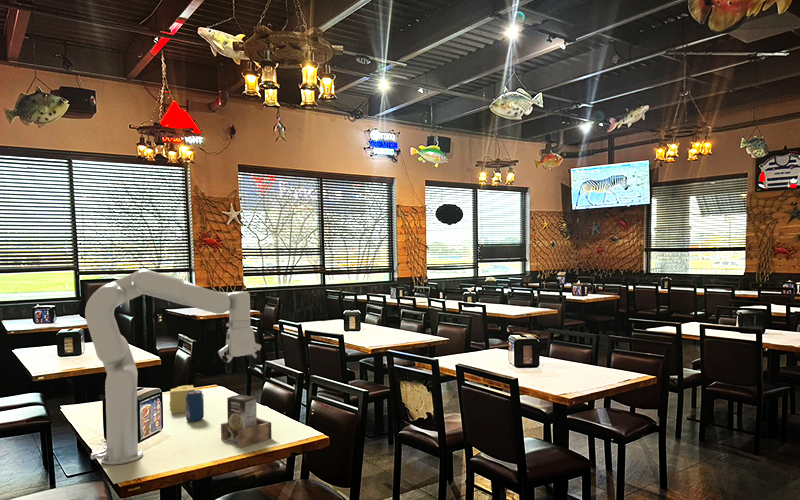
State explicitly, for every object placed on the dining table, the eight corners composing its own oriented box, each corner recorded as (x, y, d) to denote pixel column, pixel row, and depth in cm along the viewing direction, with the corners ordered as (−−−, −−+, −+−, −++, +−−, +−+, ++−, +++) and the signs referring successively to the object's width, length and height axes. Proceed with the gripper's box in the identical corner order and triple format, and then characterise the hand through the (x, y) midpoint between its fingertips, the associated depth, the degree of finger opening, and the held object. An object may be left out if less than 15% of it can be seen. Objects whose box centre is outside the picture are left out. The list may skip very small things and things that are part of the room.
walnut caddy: (239, 447, 195) (239, 431, 195) (221, 439, 204) (220, 423, 204) (271, 438, 204) (271, 422, 204) (252, 431, 214) (252, 415, 214)
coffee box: (226, 441, 202) (226, 397, 203) (239, 436, 208) (239, 393, 208) (244, 445, 198) (244, 400, 198) (257, 439, 203) (257, 396, 204)
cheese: (169, 408, 248) (169, 386, 248) (194, 405, 253) (194, 384, 253) (170, 414, 239) (170, 391, 239) (196, 411, 243) (196, 388, 244)
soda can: (206, 418, 232) (206, 390, 232) (199, 423, 225) (198, 394, 226) (191, 418, 233) (190, 389, 233) (183, 422, 226) (182, 393, 226)
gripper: (223, 328, 194) (224, 376, 194) (265, 323, 207) (266, 368, 207) (213, 326, 200) (214, 373, 199) (254, 321, 212) (255, 365, 212)
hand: (240, 370), depth 203 cm, fingers open, 9 cm apart
